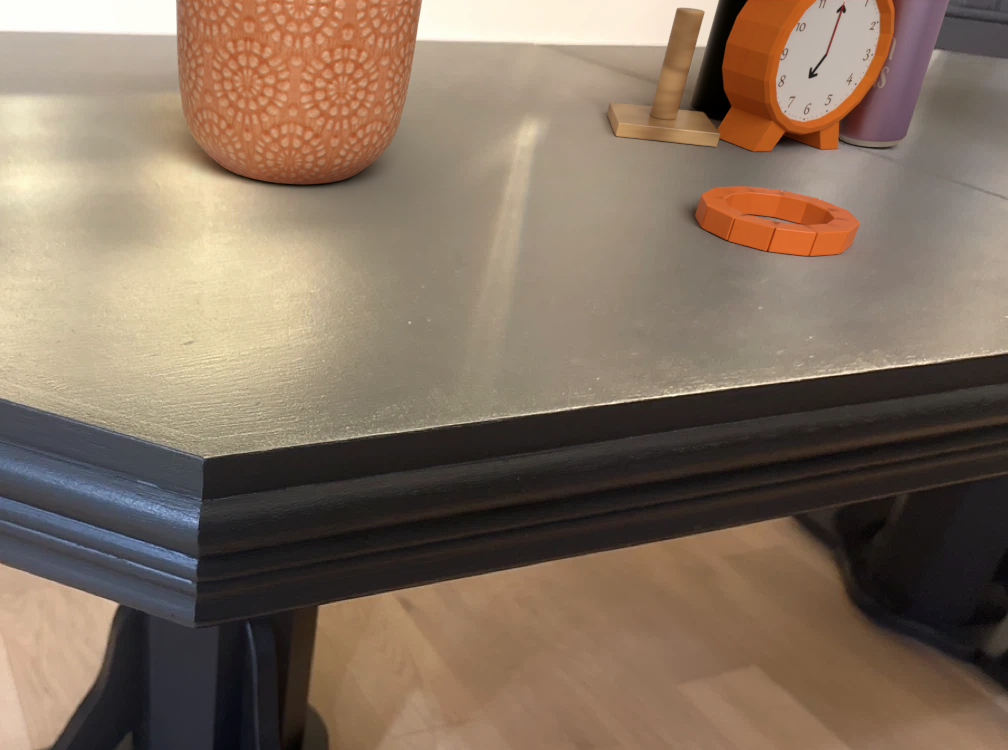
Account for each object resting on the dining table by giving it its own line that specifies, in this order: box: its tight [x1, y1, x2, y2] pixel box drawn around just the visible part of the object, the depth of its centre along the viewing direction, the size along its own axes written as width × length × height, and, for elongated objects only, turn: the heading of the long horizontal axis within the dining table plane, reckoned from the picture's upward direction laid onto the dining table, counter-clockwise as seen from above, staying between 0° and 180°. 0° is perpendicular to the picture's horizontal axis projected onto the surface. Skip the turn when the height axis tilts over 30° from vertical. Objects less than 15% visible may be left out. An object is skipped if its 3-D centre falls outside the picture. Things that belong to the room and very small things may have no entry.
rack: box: [606, 7, 720, 148], centre depth 93 cm, size 9×9×10 cm
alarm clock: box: [716, 0, 895, 152], centre depth 90 cm, size 13×6×20 cm, turn 111°
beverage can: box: [838, 0, 950, 148], centre depth 93 cm, size 6×6×15 cm
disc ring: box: [694, 185, 861, 257], centre depth 72 cm, size 10×10×2 cm
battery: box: [690, 0, 748, 119], centre depth 99 cm, size 7×7×20 cm
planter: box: [175, 0, 423, 185], centre depth 73 cm, size 17×17×15 cm
